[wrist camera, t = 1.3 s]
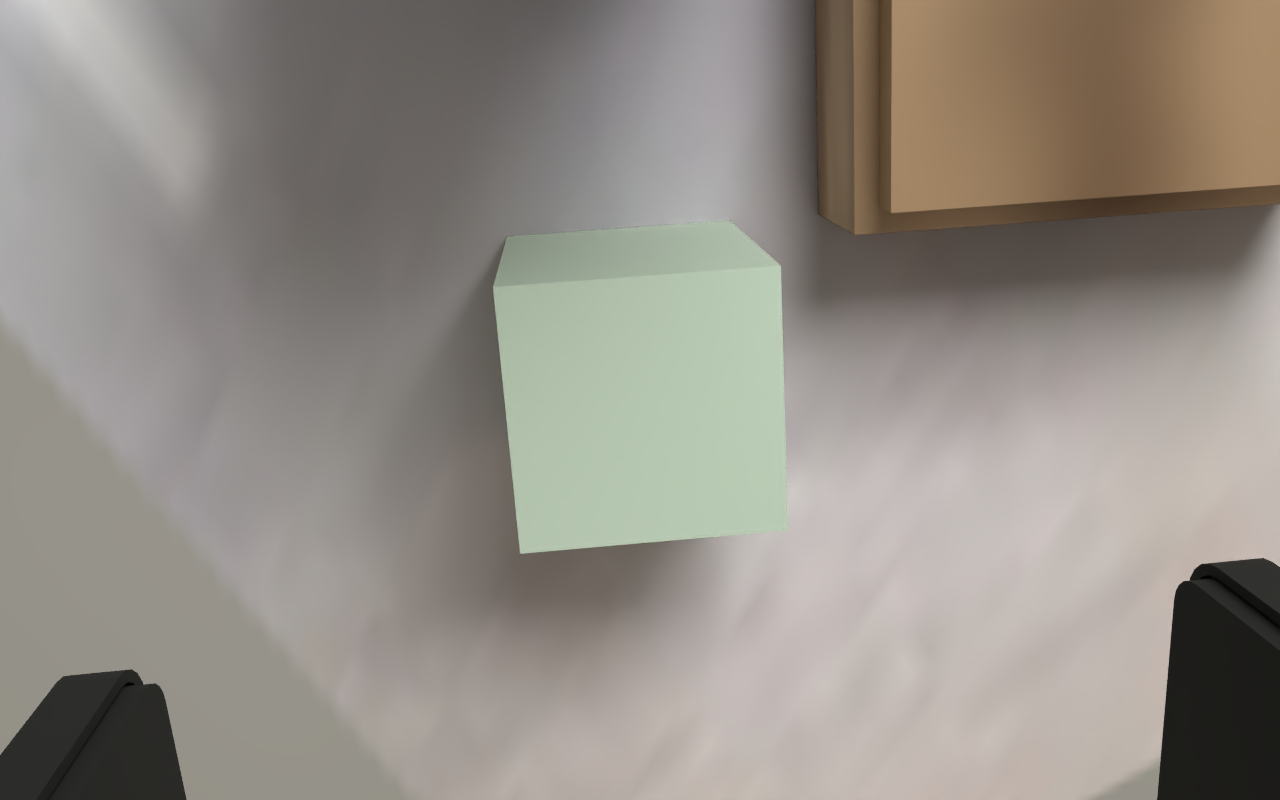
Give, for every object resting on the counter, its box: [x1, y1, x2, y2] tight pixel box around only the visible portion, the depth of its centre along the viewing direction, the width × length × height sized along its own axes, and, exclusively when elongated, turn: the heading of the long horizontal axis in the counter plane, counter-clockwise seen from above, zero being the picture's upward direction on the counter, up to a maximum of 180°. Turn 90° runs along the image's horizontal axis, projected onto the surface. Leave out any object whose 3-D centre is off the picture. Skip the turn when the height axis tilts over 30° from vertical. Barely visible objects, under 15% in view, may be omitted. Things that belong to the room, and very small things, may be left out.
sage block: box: [493, 220, 788, 554], centre depth 23 cm, size 5×5×6 cm
